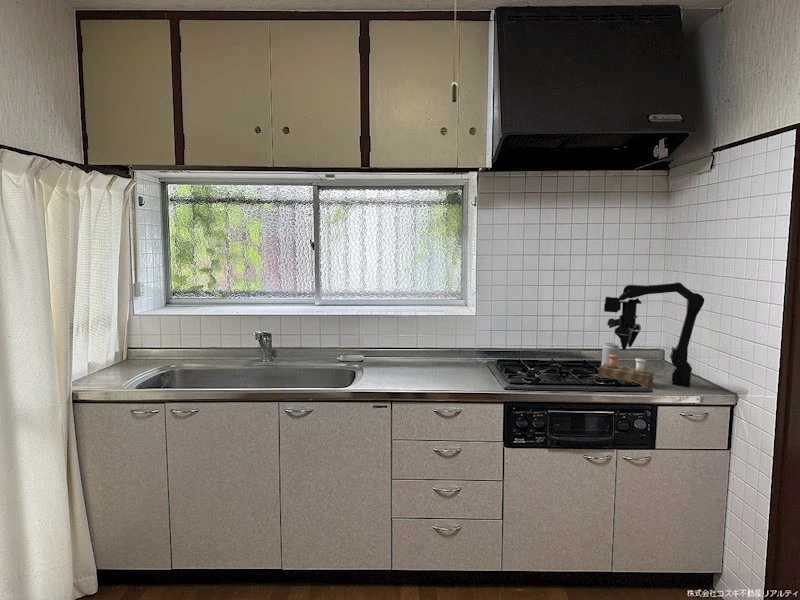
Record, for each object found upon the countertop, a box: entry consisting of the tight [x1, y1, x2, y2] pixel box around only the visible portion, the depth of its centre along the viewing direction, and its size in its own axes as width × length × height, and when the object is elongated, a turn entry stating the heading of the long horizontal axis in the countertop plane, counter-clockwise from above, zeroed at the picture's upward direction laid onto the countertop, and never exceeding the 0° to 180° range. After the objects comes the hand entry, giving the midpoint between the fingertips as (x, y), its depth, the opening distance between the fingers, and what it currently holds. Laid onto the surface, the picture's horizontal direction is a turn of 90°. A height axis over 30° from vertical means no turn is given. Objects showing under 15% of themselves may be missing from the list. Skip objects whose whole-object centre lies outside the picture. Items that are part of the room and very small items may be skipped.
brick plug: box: [609, 354, 620, 369], centre depth 226 cm, size 4×4×6 cm
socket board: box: [597, 364, 655, 389], centre depth 223 cm, size 20×10×5 cm, turn 53°
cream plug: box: [635, 358, 647, 374], centre depth 219 cm, size 4×4×6 cm
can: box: [600, 342, 621, 367], centre depth 246 cm, size 8×8×12 cm
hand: (626, 348), depth 229 cm, fingers open, 9 cm apart
